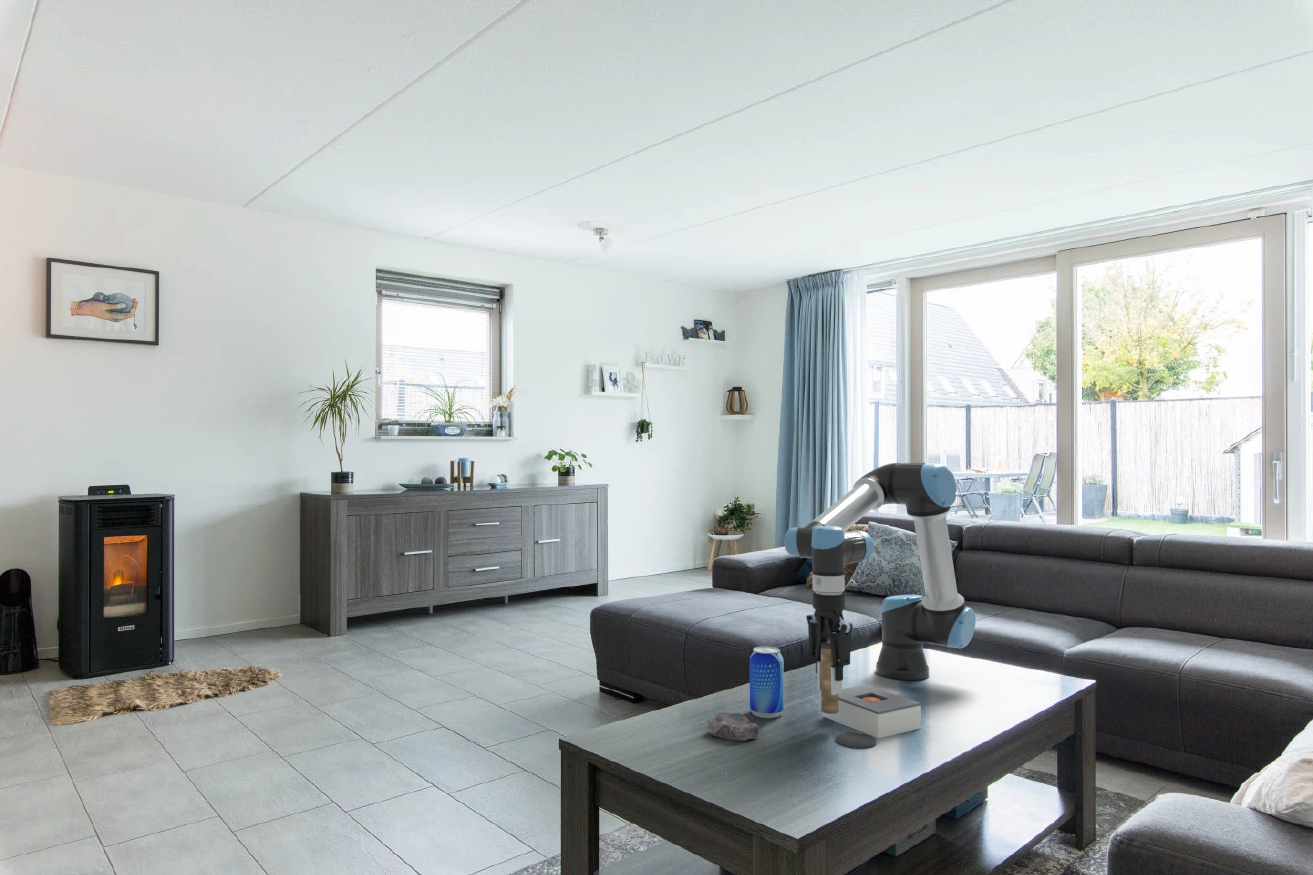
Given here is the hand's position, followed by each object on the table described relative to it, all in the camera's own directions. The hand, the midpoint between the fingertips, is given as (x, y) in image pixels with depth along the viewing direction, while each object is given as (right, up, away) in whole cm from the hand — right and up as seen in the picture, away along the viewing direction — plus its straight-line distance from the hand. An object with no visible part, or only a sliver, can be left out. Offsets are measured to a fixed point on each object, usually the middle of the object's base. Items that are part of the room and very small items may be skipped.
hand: (829, 691), depth 194 cm
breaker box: (+11, -9, +5) cm, 16 cm away
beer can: (-13, -9, +12) cm, 20 cm away
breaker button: (+11, -6, +5) cm, 14 cm away
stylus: (0, -5, 0) cm, 5 cm away
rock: (-24, -9, -4) cm, 26 cm away
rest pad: (+4, -9, -8) cm, 13 cm away
